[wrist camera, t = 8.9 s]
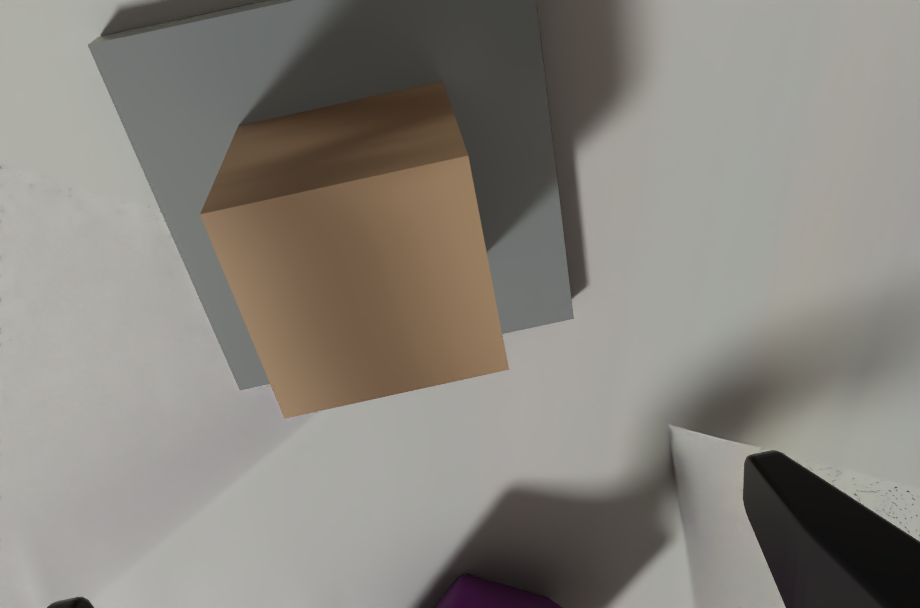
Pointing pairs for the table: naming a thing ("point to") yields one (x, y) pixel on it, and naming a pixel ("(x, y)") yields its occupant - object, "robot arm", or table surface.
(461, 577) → the perfume bottle
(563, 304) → the slate coaster
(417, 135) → the walnut cube
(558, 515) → the table surface
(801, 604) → the robot arm
